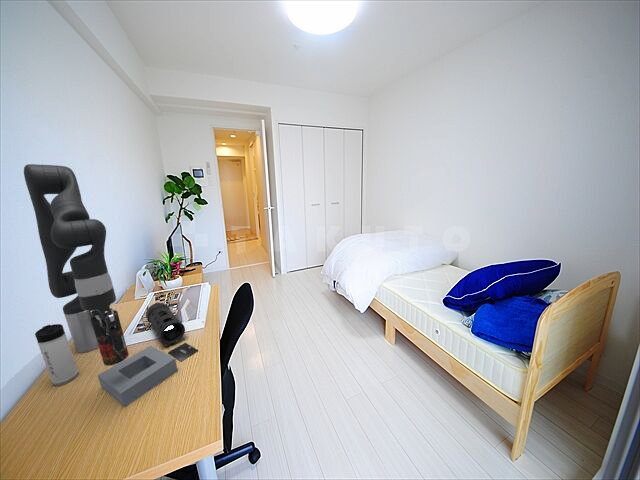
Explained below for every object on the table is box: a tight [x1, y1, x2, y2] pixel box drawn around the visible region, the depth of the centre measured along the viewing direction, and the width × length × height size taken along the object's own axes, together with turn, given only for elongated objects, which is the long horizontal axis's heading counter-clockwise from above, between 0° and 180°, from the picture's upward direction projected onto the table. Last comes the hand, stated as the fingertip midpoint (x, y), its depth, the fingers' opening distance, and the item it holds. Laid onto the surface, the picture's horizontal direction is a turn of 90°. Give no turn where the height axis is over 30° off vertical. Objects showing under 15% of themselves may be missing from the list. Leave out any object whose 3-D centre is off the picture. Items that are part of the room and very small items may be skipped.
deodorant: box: [91, 309, 129, 367], centre depth 72 cm, size 6×6×15 cm
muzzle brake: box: [145, 302, 186, 345], centre depth 108 cm, size 10×28×10 cm, turn 46°
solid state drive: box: [167, 342, 199, 363], centre depth 94 cm, size 7×10×1 cm
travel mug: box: [34, 323, 79, 387], centre depth 81 cm, size 6×7×20 cm
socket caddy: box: [97, 345, 179, 408], centre depth 81 cm, size 16×16×5 cm
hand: (110, 340), depth 72 cm, fingers closed on deodorant, 6 cm apart
